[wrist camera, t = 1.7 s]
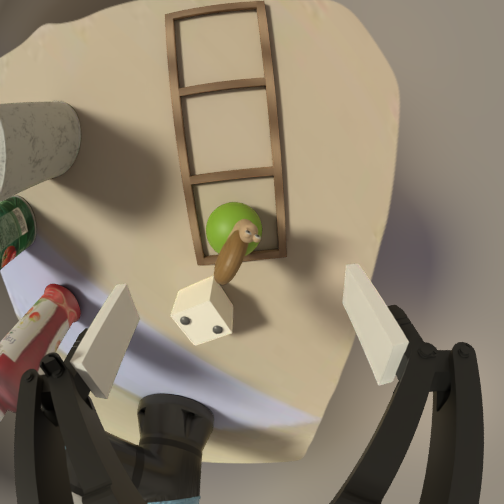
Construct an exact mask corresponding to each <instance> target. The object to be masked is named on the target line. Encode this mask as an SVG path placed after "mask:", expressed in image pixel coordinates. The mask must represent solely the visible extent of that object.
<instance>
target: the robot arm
mask: <svg viewBox="0 0 504 504" xmlns="http://www.w3.org/2000/svg"><path fill="white" fill-rule="evenodd" d="M342 303H343V305H344V307H345V309H346V312H347V314H348V316H349V318H350V320H351V322H352V325H353V327H354V329H355V331H356V334H357V336H358V338H359V340H360V343H361V345H362V347H363V350H364V352H365V354H366V357H367V359H368V362H369V364H370V366H371V369H372V371H373V373H374V376H375V379H376V381H377V383H378V385H383V384H387V383H390V382H393V380H394V377H395V375H397V377H398V380H399V382H398V384H397V386H396V388H395V390H394V392H393V395H392V398H391V400H390V402H389V404H388V406H387V409H386V411H385V413H384V415H383V417H382V419H381V421H380V423H379V425H378V427H377V429H376V431H375V433H374V435H373V437H372V439H371V440H370V442H369V444H368V446H367V447H366V449H365V451H364V453H363V454H362V456H361V458H360V459H359V461H358V463H357V464H356V466H355V467H354V469H353V471H352V472H351V474H350V475H349V477H348V479H347V480H346V482H345V483H344V484H343V486H342V487H341V489H340V490H339V492H338V493H337V494H336V496H335V497H334V499H333V500H332V501H331V502H330V503H329V504H381V502H382V499H383V497H384V495H385V494H386V492H387V490H388V488H389V486H390V485H391V483H392V481H393V479H394V477H395V475H396V473H397V472H398V469H399V467H400V465H401V463H402V461H403V459H404V457H405V454H406V452H407V450H408V448H409V446H410V443H411V441H412V439H413V436H414V434H415V431H416V429H417V426H418V423H419V420H420V418H421V415H422V412H423V409H424V406H425V403H426V400H427V397H428V394H429V392H432V391H433V413H432V427H431V438H430V448H429V455H428V463H427V468H426V475H425V480H424V484H423V489H422V494H421V498H420V502H419V504H479V498H480V491H481V482H482V472H483V455H484V453H483V452H484V424H483V406H482V394H481V385H480V377H479V370H478V364H477V358H476V353H475V350H474V348H473V347H472V346H471V345H469V344H467V343H464V342H459V343H457V344H455V345H454V347H453V349H452V350H437V349H436V348H435V347H434V346H433V345H432V344H430V343H425V342H424V341H423V340H422V338H421V337H420V335H419V334H418V332H417V331H416V329H415V327H414V326H413V324H411V321H410V320H409V319H408V318H407V315H406V314H405V313H404V311H403V310H402V309H401V308H399V307H398V306H397V305H391V306H386V304H385V302H384V301H383V299H382V298H381V296H380V295H379V293H378V292H377V290H376V289H375V287H374V286H373V284H372V283H371V281H370V280H369V278H368V277H367V275H366V274H365V272H364V271H363V270H362V268H361V267H360V265H359V264H358V263H356V264H347V265H346V272H345V283H344V292H343V302H342ZM139 320H140V317H139V315H138V312H137V310H136V307H135V305H134V302H133V299H132V297H131V294H130V291H129V288H128V286H127V284H117V285H116V286H115V288H114V289H113V291H112V292H111V294H110V295H109V297H108V298H107V300H106V301H105V303H104V304H103V306H102V308H101V309H100V311H99V312H98V314H97V316H96V317H95V319H94V321H93V322H92V324H91V325H90V327H89V328H86V329H85V330H84V331H83V332H81V333H80V334H79V336H78V338H77V339H76V342H75V343H74V345H73V347H72V348H71V350H70V351H69V353H68V355H67V357H66V359H65V360H64V362H63V360H62V359H61V357H60V356H59V354H57V353H55V352H52V353H49V354H47V355H45V356H44V357H43V358H42V359H41V361H40V368H41V369H42V370H43V372H44V373H45V374H44V375H40V374H39V373H38V372H37V371H36V370H35V369H29V370H27V371H26V372H24V373H23V375H22V377H21V380H20V386H19V393H18V401H17V410H16V422H15V440H14V465H15V466H14V467H15V485H16V494H17V503H18V504H199V499H200V479H201V463H202V451H203V449H204V447H205V445H206V443H207V441H208V439H209V437H210V434H211V432H212V430H213V425H214V416H213V414H212V412H211V411H210V410H209V409H208V408H206V407H205V406H203V405H202V404H200V403H198V402H196V401H193V400H191V399H188V398H185V397H181V396H176V395H170V394H153V395H149V396H146V397H144V398H143V399H142V400H141V401H140V403H139V407H138V412H137V415H138V423H139V431H140V442H139V446H138V445H135V444H133V443H131V442H128V441H126V440H124V439H121V438H119V437H117V436H115V435H112V434H110V433H108V432H106V431H105V430H104V428H103V426H102V424H101V422H100V419H99V417H98V415H97V412H96V410H95V407H94V405H93V403H92V400H91V398H90V397H89V396H88V395H89V392H90V390H91V392H92V393H93V394H94V395H95V397H99V398H105V399H107V398H108V396H109V393H110V390H111V388H112V385H113V382H114V380H115V377H116V375H117V372H118V370H119V367H120V365H121V362H122V360H123V357H124V355H125V352H126V350H127V347H128V345H129V343H130V340H131V338H132V336H133V333H134V331H135V329H136V327H137V324H138V322H139Z"/></svg>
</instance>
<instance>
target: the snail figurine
mask: <svg viewBox="0 0 504 504" xmlns="http://www.w3.org/2000/svg"><path fill="white" fill-rule="evenodd" d="M206 235H207V239H208V241H209V244H210V245H211V247H212V248H213V249H214V250H215V251H216V252H217V253H219V255H218V258H217V261H216V264H215V271H214V279H215V281H216V282H217V283H218V284H220V285H225V284H227V283H229V282H230V281H231V280H232V279H233V278H234V276H235V275H236V273H237V271H238V269H239V268H240V266H241V264H242V261H243V259H244V257H245V256H246V255H248V254H250V253H251V252H252V251H253V250H254V249H255V248H256V247H257V245H258V244H259V242H260V241H261V236H262V224H261V221H260V218H259V216H258V215H257V213H256V212H255V211H254V210H253V209H252V208H251V207H249V206H247V205H245V204H243V203H238V202H230V203H226V204H223V205H221V206H219V207H218V208H217V209H215V210H214V211H213V212H212V214H211V215H210V217H209V219H208V222H207V226H206Z"/></svg>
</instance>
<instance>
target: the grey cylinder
mask: <svg viewBox="0 0 504 504" xmlns="http://www.w3.org/2000/svg"><path fill="white" fill-rule="evenodd" d="M80 142H81V127H80V122H79V119H78V116H77V114H76V112H75V111H74V110H73V108H72V107H71V106H70V105H68V104H67V103H65V102H62V101H52V102H23V103H7V104H0V202H1V201H3V200H5V199H7V198H9V197H11V196H13V195H15V194H17V193H19V192H21V191H24V190H26V189H28V188H30V187H32V186H35V185H37V184H39V183H41V182H44V181H46V180H49V179H51V178H55V177H58V176H60V175H62V174H64V173H65V172H66V171H67V170H68V169H69V168H70V167H71V165H72V164H73V163H74V161H75V159H76V157H77V154H78V151H79V148H80Z"/></svg>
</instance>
